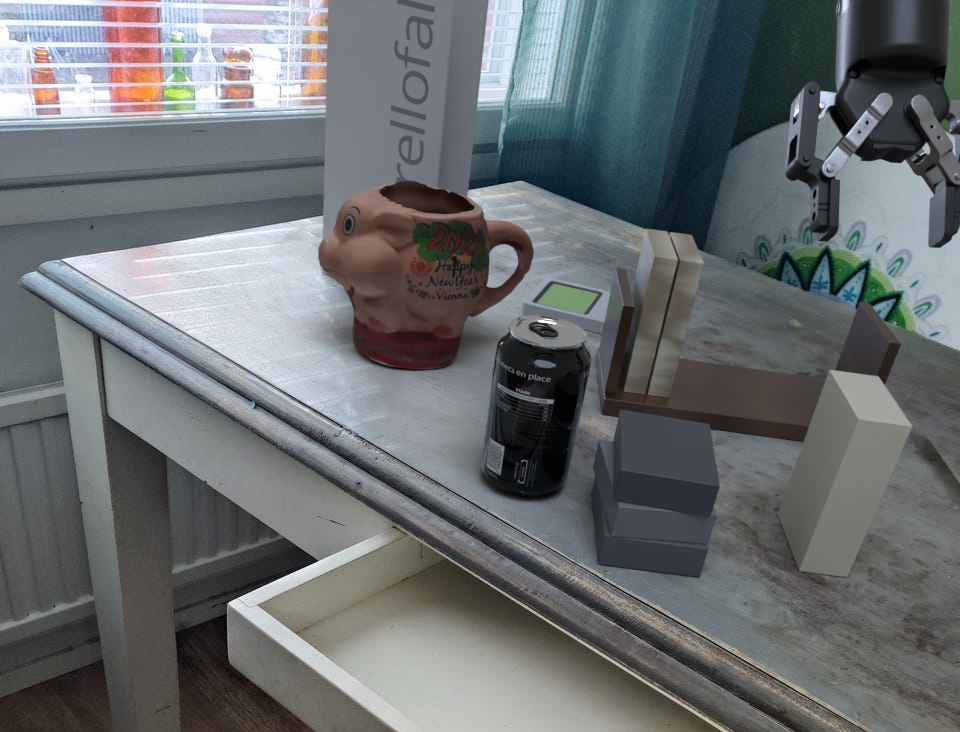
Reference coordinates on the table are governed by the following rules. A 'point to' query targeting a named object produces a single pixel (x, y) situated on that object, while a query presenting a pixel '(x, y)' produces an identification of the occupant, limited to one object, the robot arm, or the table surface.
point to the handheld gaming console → (569, 303)
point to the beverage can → (535, 404)
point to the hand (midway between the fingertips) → (884, 241)
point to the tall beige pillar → (842, 472)
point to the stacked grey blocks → (655, 494)
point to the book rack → (702, 385)
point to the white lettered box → (400, 95)
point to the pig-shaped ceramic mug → (417, 269)
